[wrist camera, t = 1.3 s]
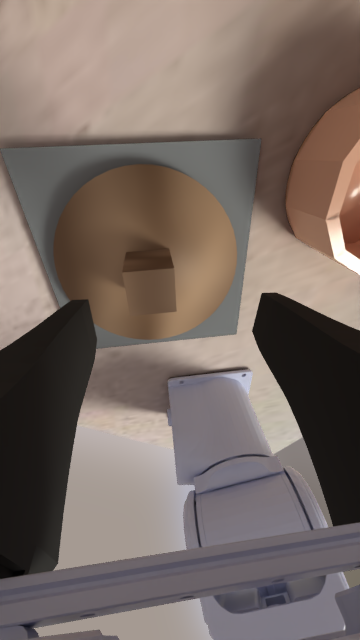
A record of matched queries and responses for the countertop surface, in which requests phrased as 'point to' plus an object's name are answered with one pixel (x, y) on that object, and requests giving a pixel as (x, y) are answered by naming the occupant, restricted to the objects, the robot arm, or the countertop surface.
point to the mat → (92, 160)
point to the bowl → (329, 185)
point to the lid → (145, 251)
